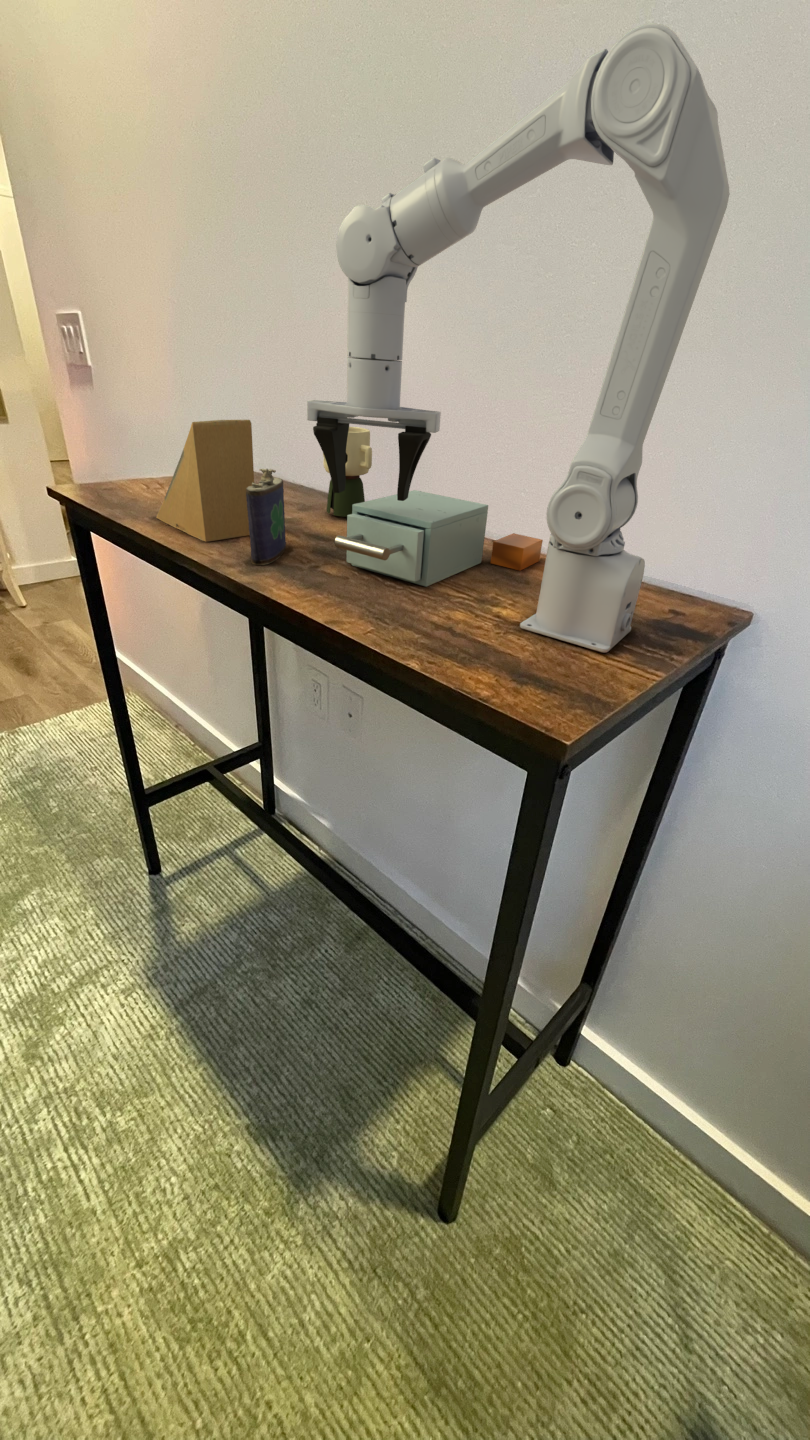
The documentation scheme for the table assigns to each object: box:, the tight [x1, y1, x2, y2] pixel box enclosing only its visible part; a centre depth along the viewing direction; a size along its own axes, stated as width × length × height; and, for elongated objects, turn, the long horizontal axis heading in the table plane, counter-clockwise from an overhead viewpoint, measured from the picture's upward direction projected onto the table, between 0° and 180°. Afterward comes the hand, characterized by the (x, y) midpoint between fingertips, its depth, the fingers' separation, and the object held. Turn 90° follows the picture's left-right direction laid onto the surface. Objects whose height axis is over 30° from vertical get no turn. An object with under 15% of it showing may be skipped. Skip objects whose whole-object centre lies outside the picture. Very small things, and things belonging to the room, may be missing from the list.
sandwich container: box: [156, 419, 255, 543], centre depth 89 cm, size 9×15×15 cm, turn 43°
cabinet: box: [350, 489, 489, 588], centre depth 81 cm, size 14×12×8 cm
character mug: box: [322, 426, 373, 518], centre depth 100 cm, size 11×7×13 cm, turn 46°
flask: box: [246, 468, 287, 566], centre depth 80 cm, size 9×3×11 cm, turn 171°
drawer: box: [334, 514, 426, 582], centre depth 78 cm, size 17×10×6 cm, turn 145°
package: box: [489, 532, 544, 572], centre depth 86 cm, size 4×6×3 cm
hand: (370, 495), depth 73 cm, fingers open, 7 cm apart
